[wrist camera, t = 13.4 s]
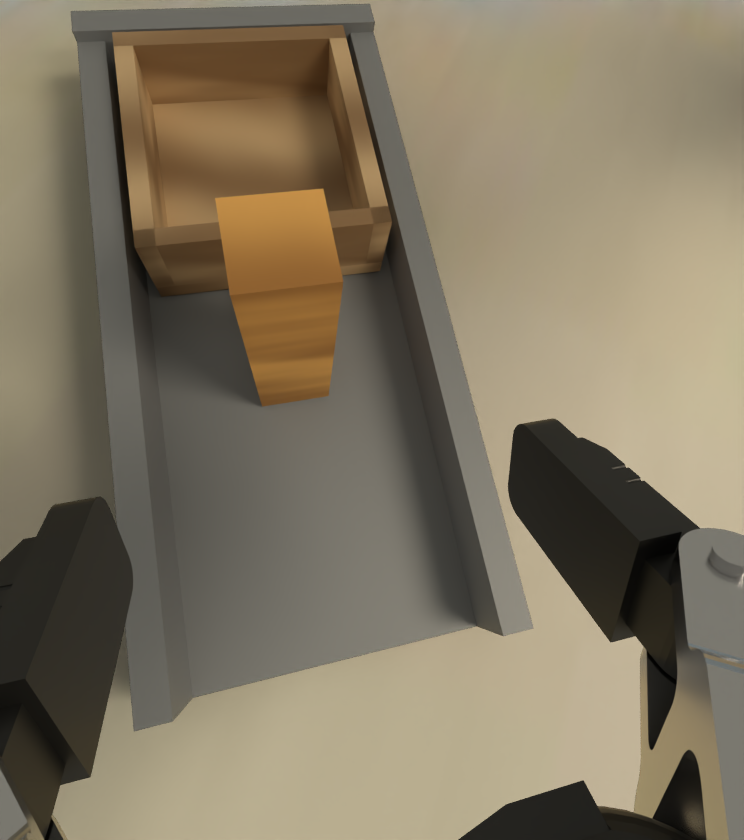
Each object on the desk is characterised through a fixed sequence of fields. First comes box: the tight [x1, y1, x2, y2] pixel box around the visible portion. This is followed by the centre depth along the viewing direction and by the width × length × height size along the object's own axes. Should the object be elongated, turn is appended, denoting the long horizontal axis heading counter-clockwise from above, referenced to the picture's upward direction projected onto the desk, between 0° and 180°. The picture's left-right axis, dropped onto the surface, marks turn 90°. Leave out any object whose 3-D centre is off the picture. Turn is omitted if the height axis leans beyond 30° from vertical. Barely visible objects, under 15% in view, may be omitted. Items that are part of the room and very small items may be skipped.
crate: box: [112, 25, 392, 407], centre depth 20 cm, size 17×10×10 cm, turn 12°
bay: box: [71, 4, 533, 731], centre depth 23 cm, size 30×14×4 cm, turn 12°
